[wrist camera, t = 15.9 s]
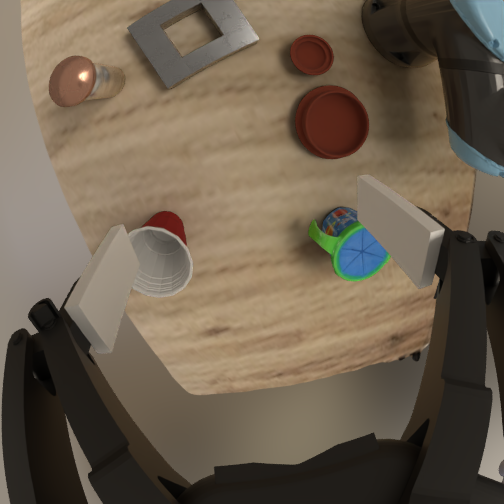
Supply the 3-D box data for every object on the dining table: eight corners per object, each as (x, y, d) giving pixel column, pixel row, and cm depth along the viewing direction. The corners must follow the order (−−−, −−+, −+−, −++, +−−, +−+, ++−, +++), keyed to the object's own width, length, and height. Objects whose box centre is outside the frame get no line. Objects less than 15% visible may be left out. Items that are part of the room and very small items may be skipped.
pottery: (304, 165, 43) (313, 173, 39) (262, 48, 32) (267, 42, 28) (367, 145, 42) (380, 150, 38) (333, 32, 31) (344, 27, 27)
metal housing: (216, -15, 25) (217, -22, 23) (256, 43, 32) (259, 39, 29) (132, 31, 28) (126, 27, 25) (171, 89, 34) (167, 88, 31)
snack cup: (384, 214, 49) (413, 240, 40) (357, 258, 54) (380, 290, 45) (317, 183, 44) (341, 207, 36) (290, 236, 49) (306, 269, 41)
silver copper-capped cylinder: (116, 56, 29) (78, 45, 18) (135, 84, 33) (101, 82, 22) (86, 81, 30) (41, 81, 20) (104, 108, 34) (63, 117, 23)
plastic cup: (179, 183, 42) (167, 215, 32) (208, 238, 48) (207, 282, 37) (123, 212, 43) (99, 249, 33) (155, 261, 49) (142, 306, 38)
